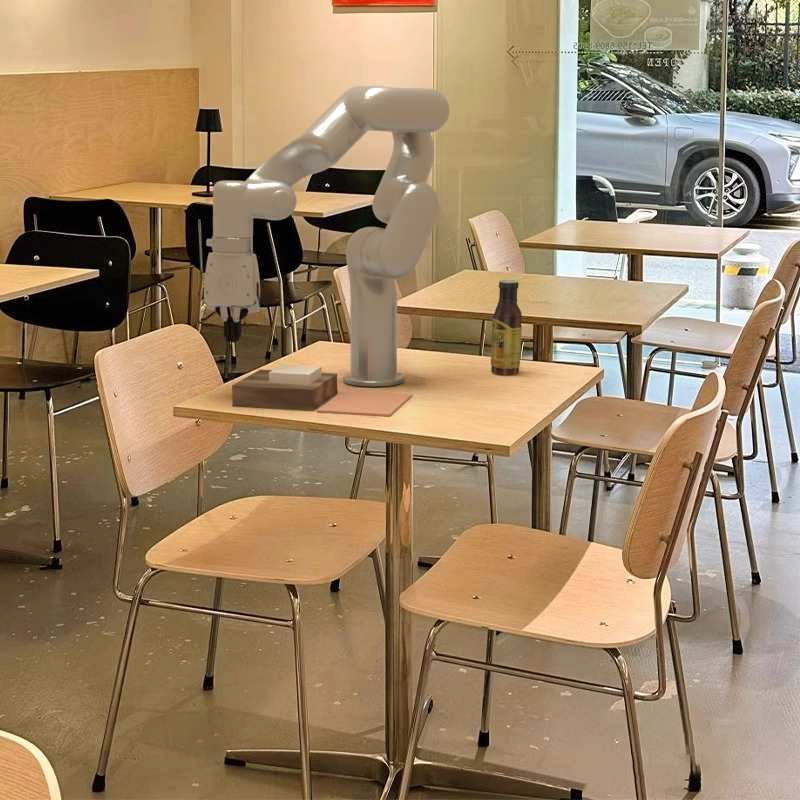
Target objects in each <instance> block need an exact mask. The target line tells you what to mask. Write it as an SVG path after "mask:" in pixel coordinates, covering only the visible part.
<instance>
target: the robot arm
mask: <svg viewBox="0 0 800 800" xmlns="http://www.w3.org/2000/svg"><path fill="white" fill-rule="evenodd" d="M449 116H450V104H449V102H448V100H447V98H446V96H445V95H444V94H443V93H441V91H439V90H436V89H434V88H428V87H427V88H426V87H423V88H419V87H416V88H414V87H393V86H392V87H391V86H382V85H381V86H378V85H370V86H369V85H363V86H361V85H358V86H353V87H351V88H349V89H347V90H346V91H344V92H343V93H342V94H341V95H340V96H339V97H338V98H337V99H336V100H335V101H334V102H333V103H332V104H331V105H330V106H329V107H328V108H327V109H326V110H325V111H324V112H323V113H322V114H321V115H320V117H318V118H317V119H316V120H315V121H314V122H313V123H312V124H311V125H310V126H309V127H308V128H307V129H306V130H305V131H304V132H303V133H302V134H300V135H299V136H298V137H295V139H293V140H291V141H290V142H289V143H287V144H286V145H285V146H283V147H282V148H280V149H279V150H277V151H276V152H274V153H273V154H272V155H270V156H269V157H267V159H265V160H264V162H262V164H260V165H259V166H258V167H257V168H256V169H255V170H254V171H253V172H252V173H251V174H250V175H249V177H247V179H246V180H245V181H244V180H220V181H217V182H216V183H214V185H213V190H212V211H213V212H212V214H213V215H212V230H213V231H212V236H211V238H207V239H206V241H205V242H206V243H205V244H206V246H207V247H211V250H212V252H208V256H207V259H206V266H205V274H204V283H203V285H204V286H203V301H204V302H205V309H206V310H209V311H211V312H212V311H213V312H216V314H217V315H218V316H219V317H220V319H221V321H222V322H223V337H224V338H225V342H226V343H232V344H234V343H236V342H239V341H240V338H241V337H242V321H243V320H244V319H245V318H246V317H247V316H248V315H249V314H254V313H258V312H260V310H261V308H260V307H261V306H260V300H261V283H260V272H259V271H260V270H259V263H258V258H257V254H255V253H254V251H253V250H254V247H253V245H254V244H253V242H254V240H253V237H254V236H253V235H254V219H262V220H263V219H264V220H270V221H281V220H284V219H287V218H288V217H290V216H291V215H292V213H294V212H295V209H296V207H297V201H298V200H297V195H296V193H295V191H294V189H293V188H292V187H293V186H294V185H295V184H297V183H299V182H300V181H302V180H303V179H305V178H307V177H309V176H312V175H314V174H317V173H321V172H324V171H326V170H327V169H330V168H331V167H334V166H335V165H336V164H337V163H338V162H339V161H340V160H341V159H342V157H345V154H347V153H348V152H349V150H350V149H351V148H352V147H353V146H355V145H356V143H357V142H358V141H360V140H361V138H362V137H363V136H364V135H365V134H366V133H367V132H369V131H373V132H374V131H375V132H390V133H391V134H392V139H393V149H392V153H391V157H390V159H389V162H388V164H387V167H386V169H385V172H384V173H383V175H382V178H381V179H380V182H379V185H378V187H377V189H376V191H375V194H374V196H373V199H372V205H371V206H372V211H373V213H374V217H375V218H377V219H378V221H381V222H382V223H384V224H387V225H386V226H385V228H382V227H378V226H366V227H363V228H360V229H357V230H356V231H355V232H354V233H353V234H352V235H351V236H350V238H349V239H348V241H347V244H346V249H345V258H346V266H347V272H348V277H349V279H348V280H349V292H350V294H349V295H350V310H349V311H350V316H349V317H350V318H349V320H350V372H349V371H348V372H347V373H344V374H343V377H342V378H343V380H342V381H343V382H344V383H346V384H348V385H351V386H358V387H371V388H372V387H376V388H377V387H389V386H395V385H399V384H402V383H404V381H405V375H404V373H402V372H398V292H397V284H396V280H400V279H404V278H405V277H407V276H408V275H410V273H412V271H414V270H415V268H416V266H417V264H418V262H419V261H420V259H421V256H422V255H423V252H424V250H425V248H426V245H427V243H428V241H429V238H430V237H431V234H432V231H433V229H434V227H435V224H436V222H437V219H438V215H439V211H440V203H439V196H438V194H437V192H436V190H435V189H434V187H433V186H431V185H430V184H429V183H427V182H428V179H429V175H430V173H431V171H432V167H433V164H434V159H435V145H434V141H433V140H434V139H433V136H432V133H434V132H437V131H439V130H440V129H442V128H443V127H444V126H445V124H446V123H447V122H448V119H449ZM232 308H234V309H233V311H232Z"/></svg>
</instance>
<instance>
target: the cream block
mask: <svg viewBox="0 0 800 800" xmlns="http://www.w3.org/2000/svg"><path fill="white" fill-rule="evenodd" d="M272 370H273V371H271V372H269V383H281V384H300V385H310V384H312V383H313V382H315V381H316V380H318V379H319V378H321V377H322V373H323V372H322V366H312V365H311V366H310V365H295V364H281V365H280V366H278V367H276V368H274V369H272Z"/></svg>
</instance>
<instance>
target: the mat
mask: <svg viewBox="0 0 800 800" xmlns="http://www.w3.org/2000/svg"><path fill="white" fill-rule="evenodd" d="M412 397H413V394H412V393H396V392H395V393H394V392H392V393H391V392H380V391H379V392H378V391H376V392H375V391H359V390H358V391H357V390H342V391H341V392H340V393H337V394H336V395H334V396H333V397H332V398H330V399H329V401H328V402H327V401H326V402H325V403H324V405H323V404H322V405H321V406H319V407H318V408H317V409H316V412H317V413H323V414H325V413H326V414H338V413H339V415H340V414H343V415H359V416H372V417H376V416H377V417H391V416H392V415H393V414H394V413H395V412H397V411H398V410H399V409H401V407H402V406H403V405H405V403H407V402H408V401H409V400H410V399H411V398H412Z"/></svg>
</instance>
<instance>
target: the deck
mask: <svg viewBox="0 0 800 800" xmlns="http://www.w3.org/2000/svg"><path fill="white" fill-rule="evenodd" d="M273 370H274V369H259V370H257V371H256V372H254V373H251V374H250V375H248V376H246V377H245V378H243V379H241V380H239V381H237V382H236V383H233V384H232V385H231V390H232V391H231V393H232V395H231V396H232V397H231V400H232V407H243V408H259V409H274V410H275V409H276V410H294V411H295V410H296V411H308V412H309V411H312V412H314V411H316V410H317V409H319V408H320V407H322V406H323V404H326V403H327V401H328V400H329V401H330V400H331V399H332V398H334V397H335V396H336V395H338V373H336V372H335V373H333V372H322V377H321V378H319V379H318V380H316V381H315V382H313V383H312V384H310V385H300V384H281V383H269V372H271V371H273ZM335 394H336V395H335ZM331 397H332V398H331Z"/></svg>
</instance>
